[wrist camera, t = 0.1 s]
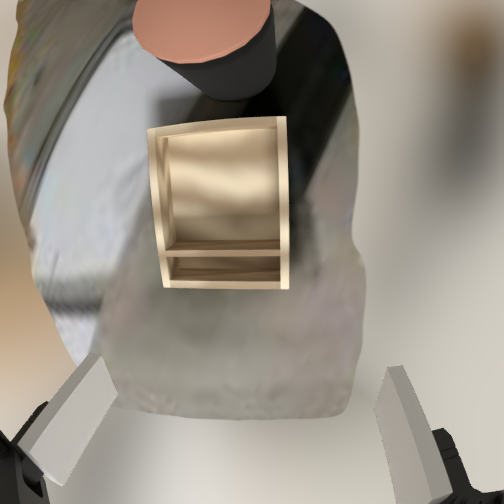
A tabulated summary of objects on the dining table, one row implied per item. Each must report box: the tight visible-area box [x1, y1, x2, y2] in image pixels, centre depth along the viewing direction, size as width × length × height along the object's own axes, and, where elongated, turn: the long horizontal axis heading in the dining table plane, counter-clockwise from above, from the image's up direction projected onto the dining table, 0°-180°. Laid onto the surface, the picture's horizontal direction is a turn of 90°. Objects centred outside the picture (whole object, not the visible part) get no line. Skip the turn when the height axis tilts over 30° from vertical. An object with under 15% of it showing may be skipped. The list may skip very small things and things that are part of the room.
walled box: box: [147, 116, 289, 289], centre depth 35 cm, size 20×16×5 cm
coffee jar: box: [132, 0, 277, 102], centre depth 23 cm, size 11×11×18 cm
